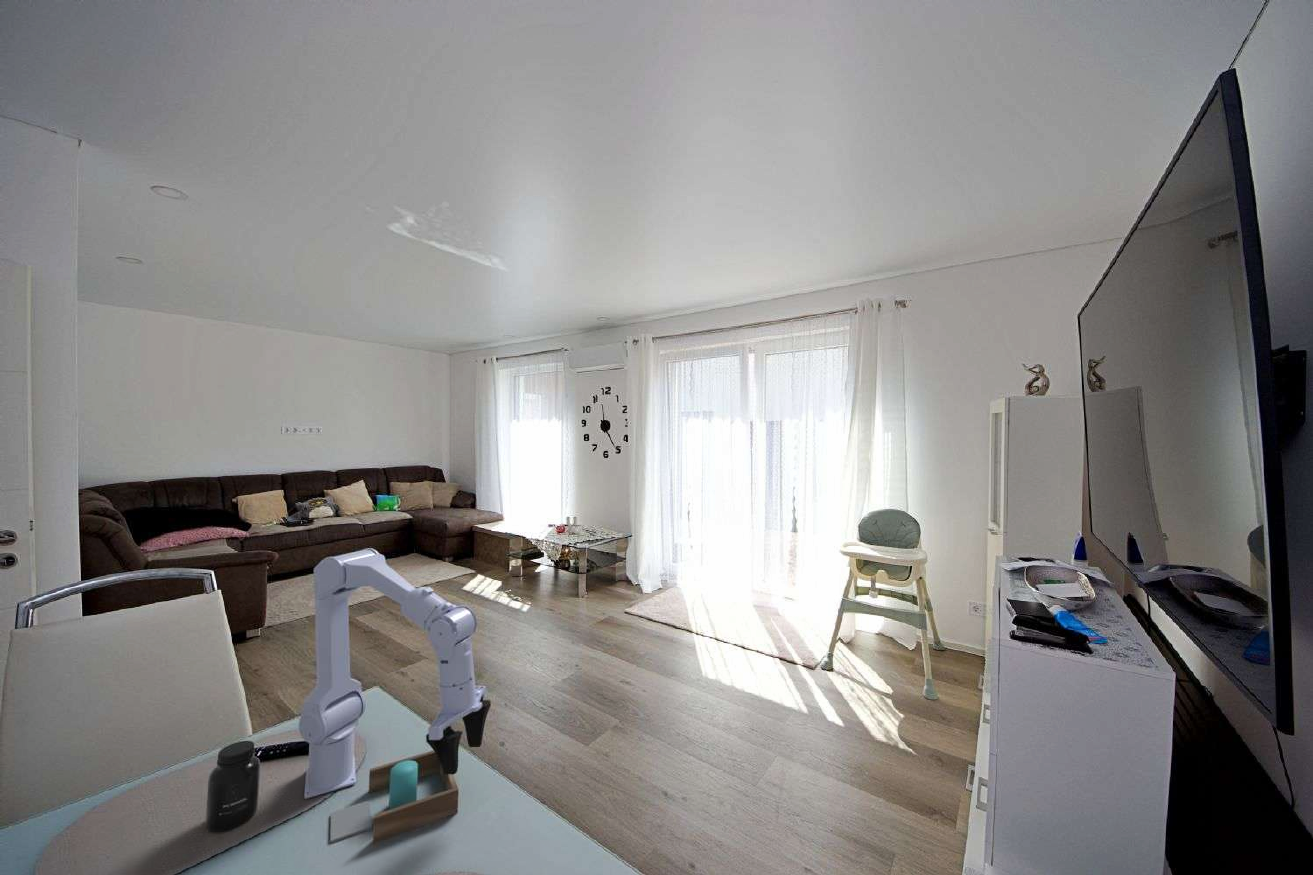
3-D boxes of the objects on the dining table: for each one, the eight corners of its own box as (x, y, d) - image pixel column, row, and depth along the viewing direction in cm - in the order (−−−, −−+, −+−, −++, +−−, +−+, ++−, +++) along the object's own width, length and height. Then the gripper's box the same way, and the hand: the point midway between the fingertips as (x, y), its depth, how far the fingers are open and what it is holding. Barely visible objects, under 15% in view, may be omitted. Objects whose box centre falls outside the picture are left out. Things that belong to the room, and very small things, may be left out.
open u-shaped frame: (368, 790, 91) (369, 769, 91) (443, 767, 98) (444, 747, 99) (373, 842, 80) (374, 818, 80) (457, 812, 87) (458, 789, 87)
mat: (330, 815, 85) (330, 812, 85) (369, 802, 88) (369, 800, 88) (330, 843, 79) (330, 840, 79) (371, 828, 83) (371, 826, 83)
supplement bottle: (227, 838, 80) (230, 764, 80) (194, 830, 81) (197, 757, 81) (268, 807, 86) (271, 739, 87) (237, 801, 88) (240, 734, 88)
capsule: (388, 801, 89) (389, 765, 89) (414, 792, 91) (416, 757, 91) (390, 817, 85) (391, 779, 85) (417, 807, 88) (419, 771, 88)
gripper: (453, 699, 78) (460, 786, 78) (498, 661, 93) (504, 735, 92) (414, 700, 80) (420, 786, 79) (464, 663, 94) (470, 735, 93)
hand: (463, 758), depth 85 cm, fingers open, 7 cm apart
